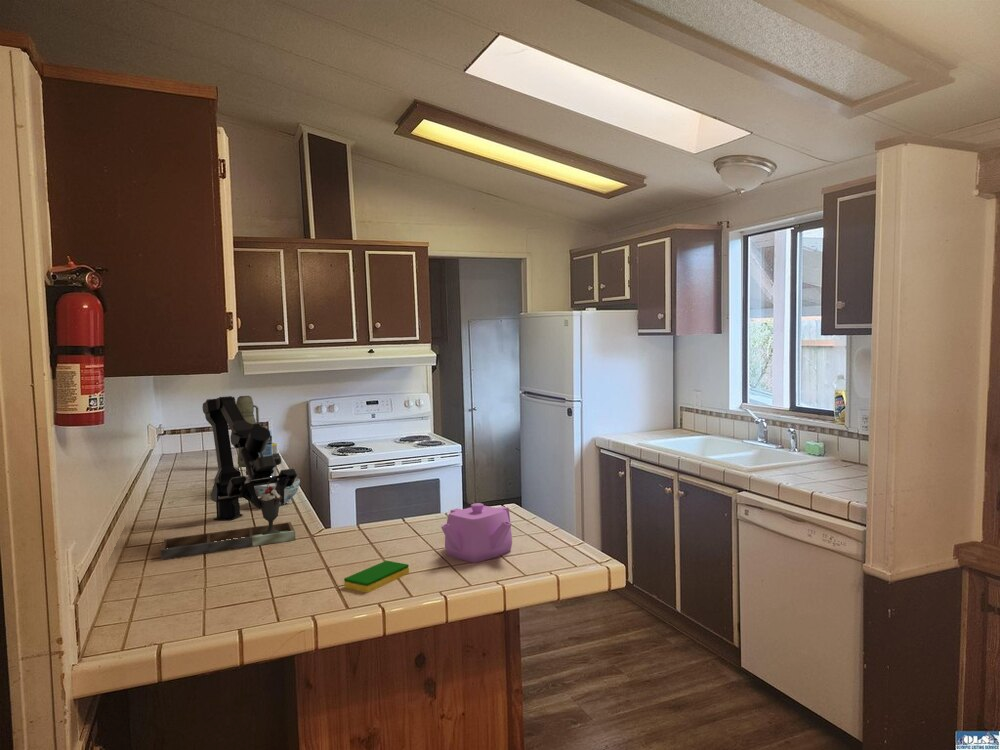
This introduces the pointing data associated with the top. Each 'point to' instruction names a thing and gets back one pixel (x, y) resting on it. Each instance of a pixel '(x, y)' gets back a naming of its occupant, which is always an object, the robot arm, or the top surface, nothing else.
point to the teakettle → (478, 533)
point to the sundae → (270, 508)
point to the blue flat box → (269, 449)
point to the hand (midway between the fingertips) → (271, 505)
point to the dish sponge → (376, 576)
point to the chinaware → (288, 491)
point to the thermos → (246, 416)
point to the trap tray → (207, 544)
